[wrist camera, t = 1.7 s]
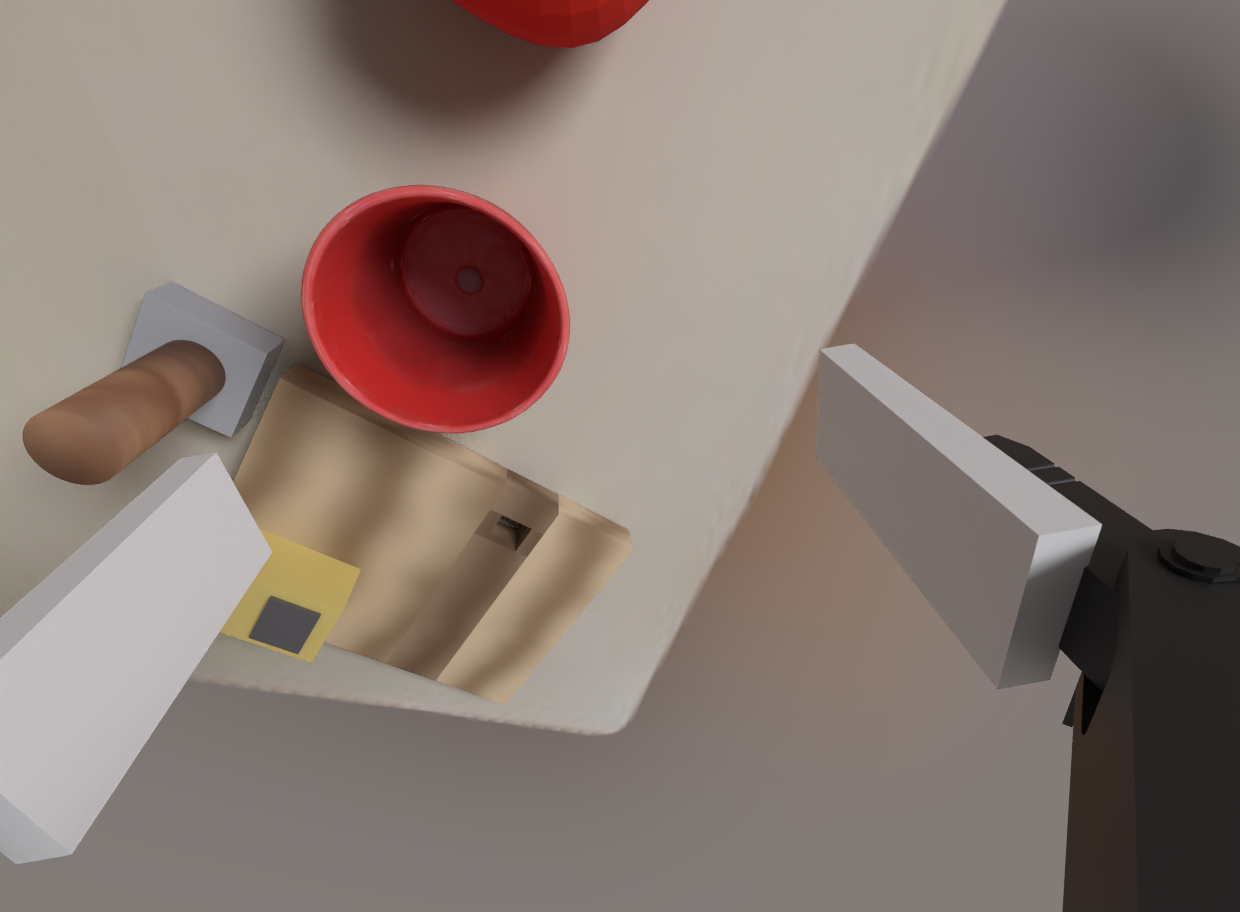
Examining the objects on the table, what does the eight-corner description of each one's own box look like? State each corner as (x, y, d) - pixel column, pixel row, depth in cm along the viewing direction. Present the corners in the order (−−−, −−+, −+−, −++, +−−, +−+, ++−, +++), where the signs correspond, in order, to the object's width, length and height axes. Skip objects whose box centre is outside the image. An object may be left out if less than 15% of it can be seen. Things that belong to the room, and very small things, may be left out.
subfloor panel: (202, 569, 41) (183, 593, 39) (296, 362, 34) (279, 377, 32) (507, 680, 49) (505, 704, 47) (629, 530, 43) (632, 550, 41)
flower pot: (529, 388, 37) (522, 466, 28) (348, 323, 34) (279, 389, 25) (594, 222, 32) (608, 256, 24) (393, 130, 29) (327, 132, 21)
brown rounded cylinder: (171, 364, 34) (14, 461, 24) (188, 315, 32) (32, 396, 23) (233, 393, 35) (108, 497, 25) (252, 347, 34) (129, 437, 24)
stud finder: (211, 573, 38) (173, 621, 35) (236, 519, 37) (199, 564, 33) (332, 617, 41) (309, 666, 37) (361, 569, 39) (340, 615, 36)
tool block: (142, 370, 34) (115, 386, 32) (172, 281, 32) (145, 292, 30) (249, 419, 36) (231, 437, 34) (285, 339, 34) (267, 353, 32)
